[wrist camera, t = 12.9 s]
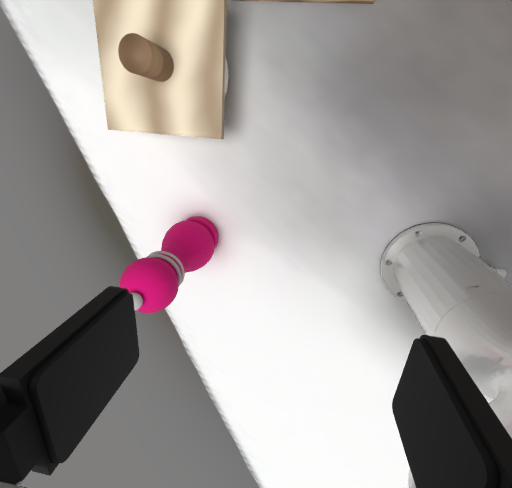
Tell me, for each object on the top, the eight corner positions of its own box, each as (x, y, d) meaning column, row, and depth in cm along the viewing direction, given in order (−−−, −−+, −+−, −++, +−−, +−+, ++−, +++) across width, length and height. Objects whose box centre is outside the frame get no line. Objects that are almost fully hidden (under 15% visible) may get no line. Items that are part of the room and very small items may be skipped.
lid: (227, -12, 28) (208, -46, 23) (223, 138, 34) (207, 140, 28) (97, -15, 30) (50, -46, 25) (113, 129, 36) (77, 129, 30)
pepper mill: (169, 235, 47) (80, 304, 28) (195, 203, 44) (115, 257, 26) (203, 264, 48) (138, 349, 29) (230, 235, 45) (178, 309, 26)
